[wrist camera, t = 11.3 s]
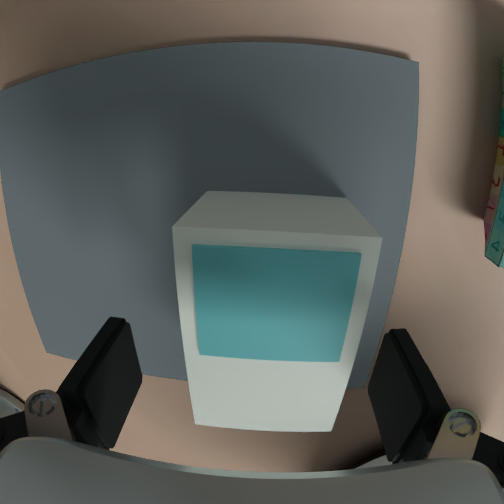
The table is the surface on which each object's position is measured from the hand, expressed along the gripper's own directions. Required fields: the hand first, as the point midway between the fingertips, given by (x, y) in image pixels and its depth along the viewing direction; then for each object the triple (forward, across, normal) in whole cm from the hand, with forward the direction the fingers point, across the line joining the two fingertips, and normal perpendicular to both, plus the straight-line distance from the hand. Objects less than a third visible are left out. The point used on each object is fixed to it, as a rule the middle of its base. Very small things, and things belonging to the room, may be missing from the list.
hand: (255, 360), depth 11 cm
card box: (+5, -1, 0) cm, 5 cm away
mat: (+5, +4, -2) cm, 7 cm away
